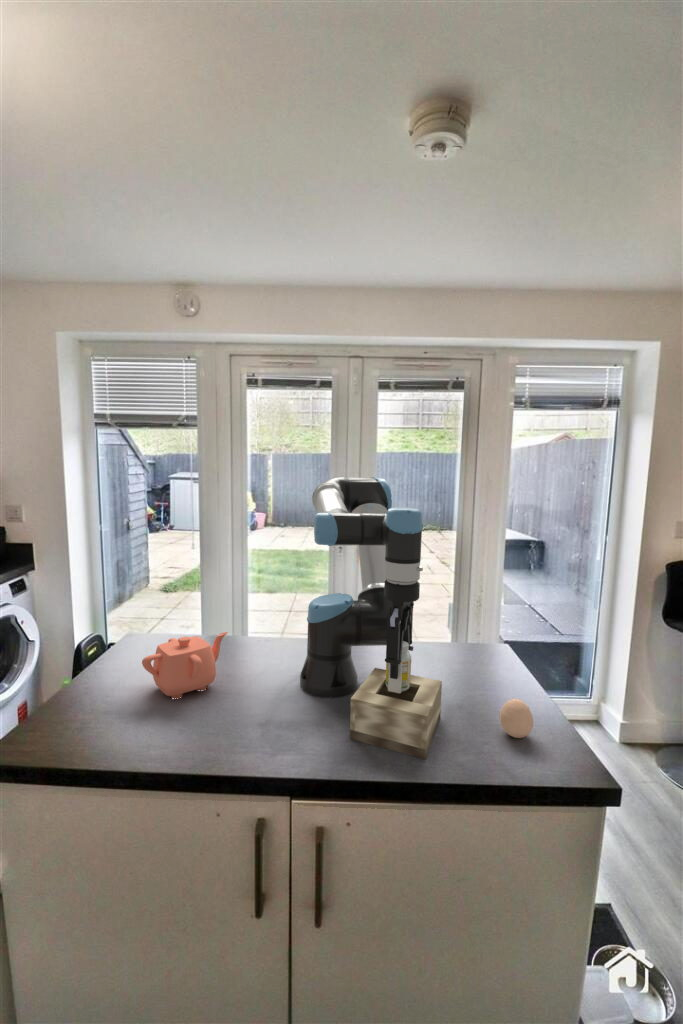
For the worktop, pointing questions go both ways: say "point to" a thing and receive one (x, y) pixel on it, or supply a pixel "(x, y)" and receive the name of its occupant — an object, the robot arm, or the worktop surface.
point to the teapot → (184, 664)
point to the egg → (516, 718)
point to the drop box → (396, 714)
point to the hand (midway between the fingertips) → (398, 684)
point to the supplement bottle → (403, 667)
